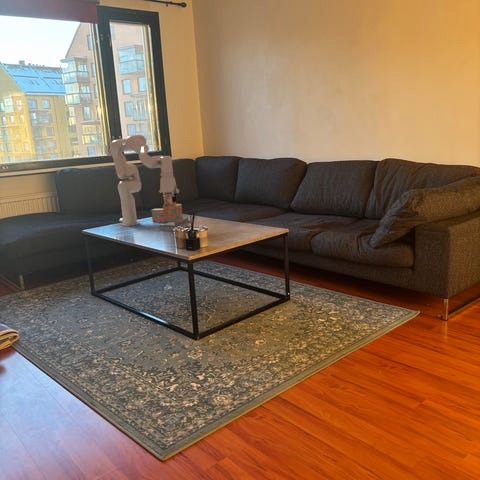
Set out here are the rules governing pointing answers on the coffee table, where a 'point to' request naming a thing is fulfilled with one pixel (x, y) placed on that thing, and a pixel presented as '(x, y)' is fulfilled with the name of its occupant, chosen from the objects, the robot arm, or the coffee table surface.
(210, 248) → the coffee table surface
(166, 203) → the pedestal
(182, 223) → the dock
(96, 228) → the coffee table surface
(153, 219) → the stack of blocks
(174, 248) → the coffee table surface
